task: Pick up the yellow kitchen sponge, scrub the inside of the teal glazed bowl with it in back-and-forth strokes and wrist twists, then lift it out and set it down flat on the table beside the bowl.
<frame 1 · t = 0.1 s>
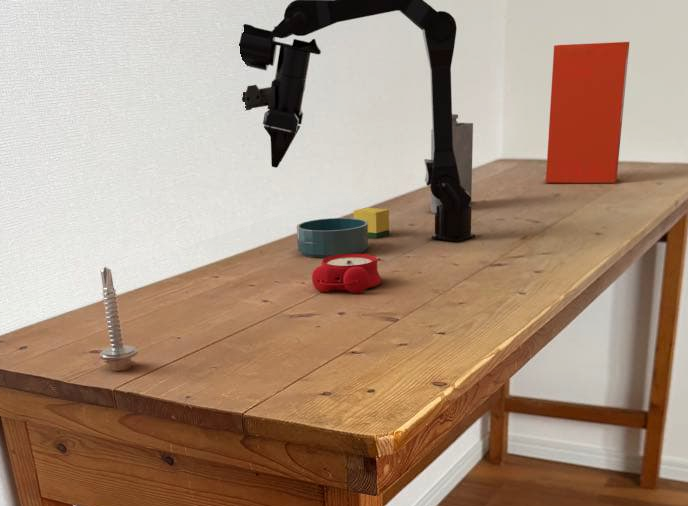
hand: (276, 164, 183), 15 cm above the table, tool pointing down, fingers open, 9 cm apart
screw: (121, 369, 123), on the table
file binder: (581, 182, 247), on the table
hip flask: (449, 208, 221), on the table
sponge: (371, 235, 195), on the table
bowl: (333, 251, 183), on the table
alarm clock: (347, 288, 156), on the table
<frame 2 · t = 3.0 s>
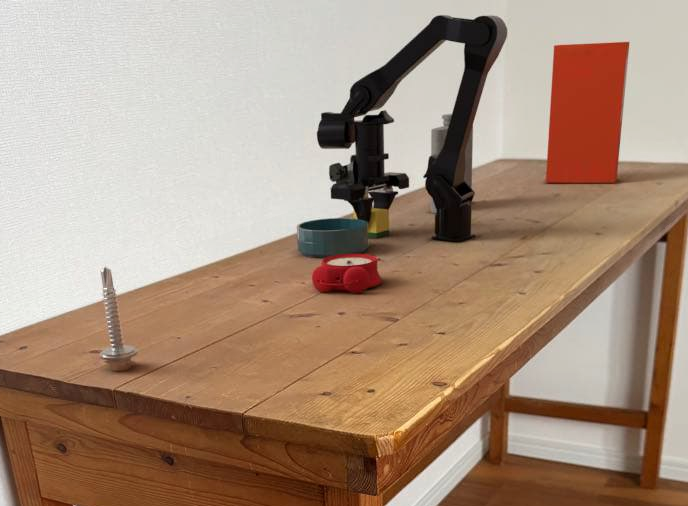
hand: (371, 230, 195), 1 cm above the table, tool pointing down, fingers closed on sponge, 4 cm apart
sponge: (371, 235, 195), on the table, touching gripper
everything else where it was.
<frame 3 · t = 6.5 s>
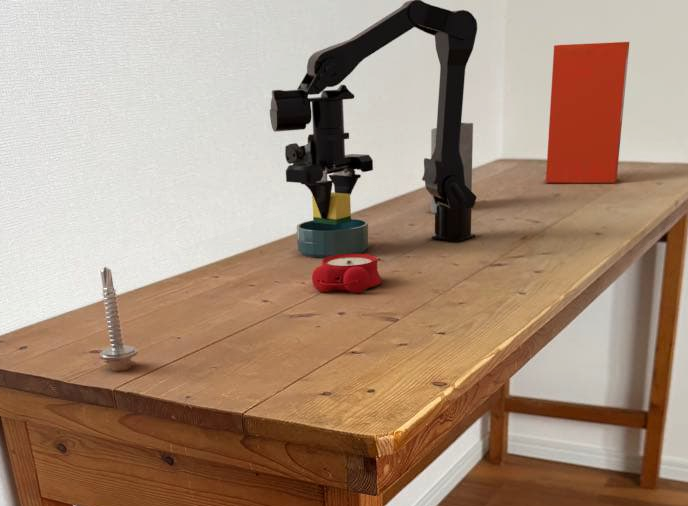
hand: (332, 216, 180), 6 cm above the table, tool pointing down, fingers closed on sponge, 4 cm apart
sponge: (332, 222, 180), point 5 cm above the table, touching gripper
everything else where it was.
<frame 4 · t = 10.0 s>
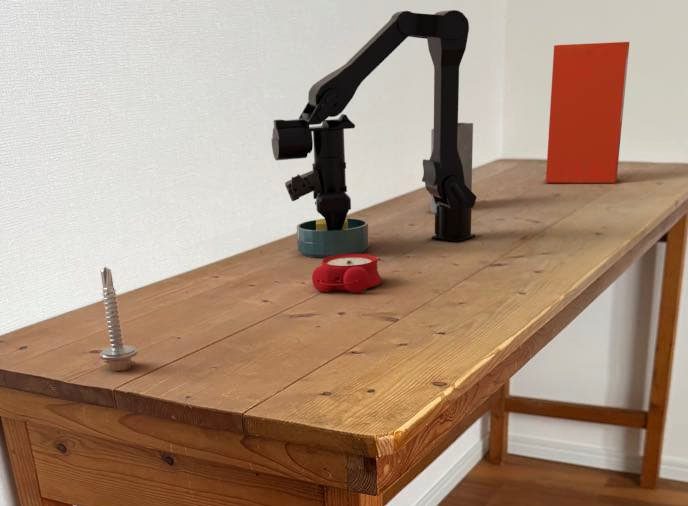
hand: (333, 242, 182), 2 cm above the table, tool pointing down, fingers closed on sponge, 4 cm apart
sponge: (332, 247, 182), point 1 cm above the table, touching gripper
everything else where it was.
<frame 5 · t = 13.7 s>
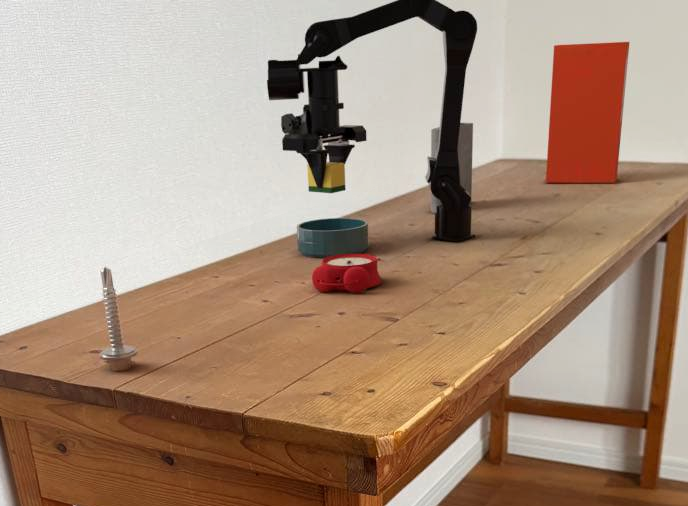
hand: (327, 185, 184), 11 cm above the table, tool pointing down, fingers closed on sponge, 4 cm apart
sponge: (327, 190, 185), point 10 cm above the table, touching gripper
everything else where it was.
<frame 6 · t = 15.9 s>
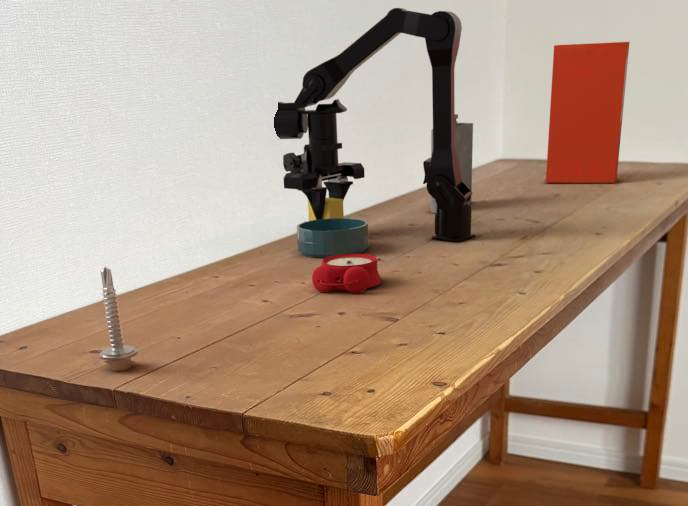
hand: (326, 220, 194), 3 cm above the table, tool pointing down, fingers closed on sponge, 4 cm apart
sponge: (326, 225, 194), point 2 cm above the table, touching gripper
everything else where it was.
when the fingers open (1 cm above the table, at t = 17.0 s): sponge stays where it is, on the table.
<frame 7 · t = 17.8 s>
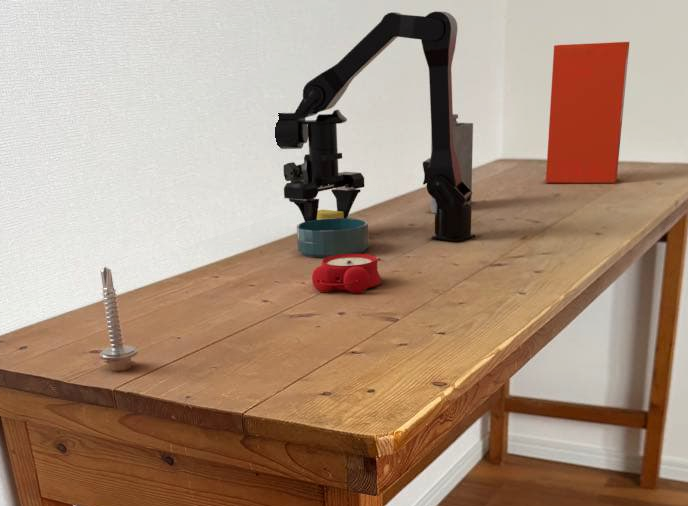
hand: (326, 229, 195), 2 cm above the table, tool pointing down, fingers open, 9 cm apart
sponge: (326, 237, 196), on the table
everything else where it was.
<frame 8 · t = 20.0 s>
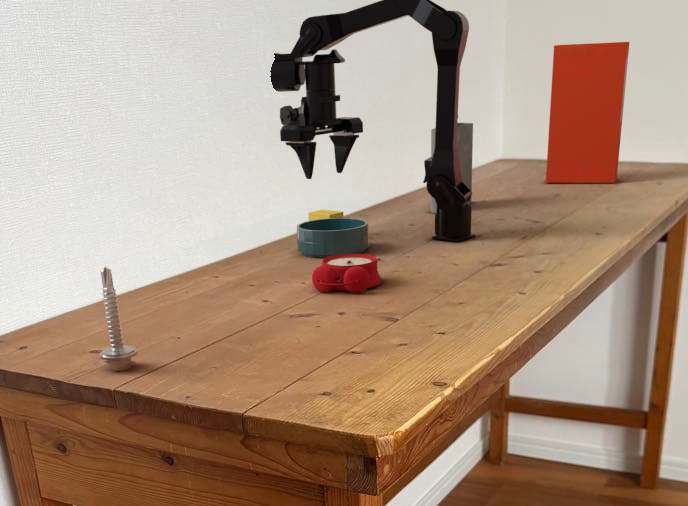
hand: (324, 175, 190), 12 cm above the table, tool pointing down, fingers open, 9 cm apart
nothing on the table moved.
at the end: sponge 0.1 cm from the target spot, on the table; sponge tilted 0°; the gripper is holding nothing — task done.
